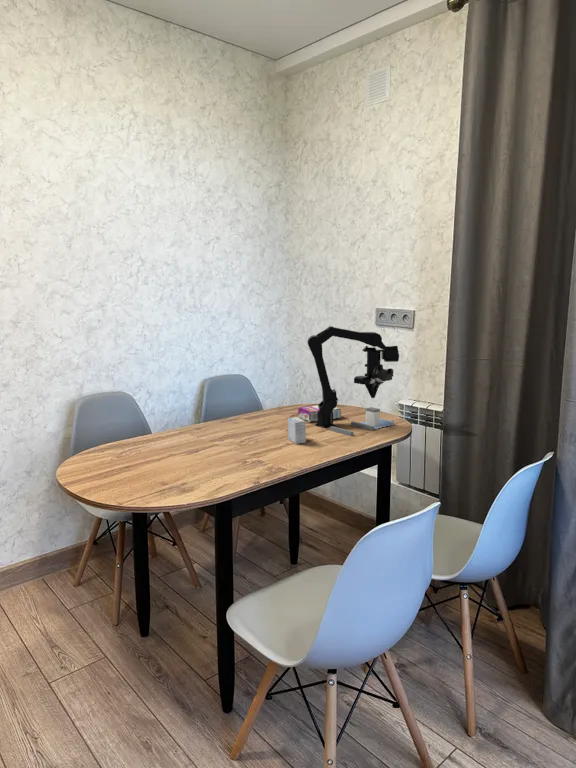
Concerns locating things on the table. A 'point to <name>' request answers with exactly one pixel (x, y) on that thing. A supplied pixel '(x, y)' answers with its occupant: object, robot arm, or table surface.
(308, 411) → the candy bar box
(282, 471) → the table surface
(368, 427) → the rail tray
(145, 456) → the table surface
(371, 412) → the grey chamfered block
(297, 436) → the medicine box
